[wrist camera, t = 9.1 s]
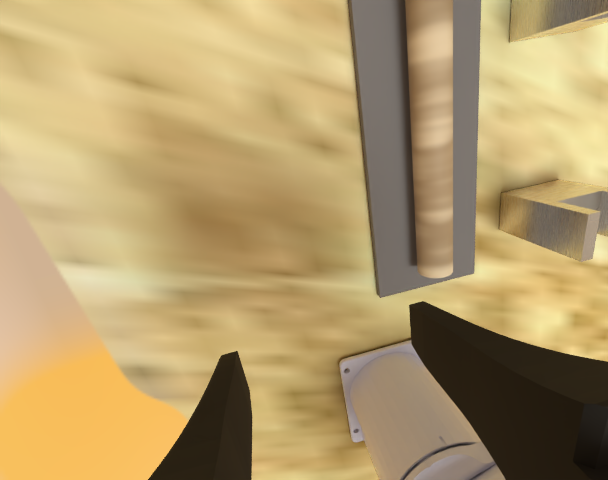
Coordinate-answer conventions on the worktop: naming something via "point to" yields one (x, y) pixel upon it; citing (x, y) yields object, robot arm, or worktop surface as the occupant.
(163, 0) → the worktop surface
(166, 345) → the worktop surface
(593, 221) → the hook stands
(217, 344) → the worktop surface
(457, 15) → the mat
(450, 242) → the rail
